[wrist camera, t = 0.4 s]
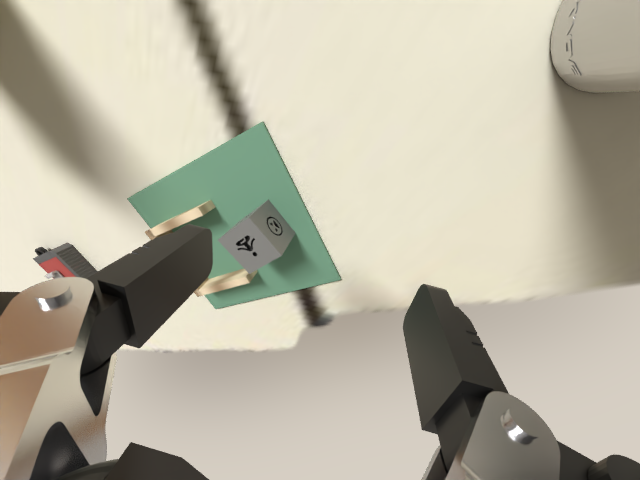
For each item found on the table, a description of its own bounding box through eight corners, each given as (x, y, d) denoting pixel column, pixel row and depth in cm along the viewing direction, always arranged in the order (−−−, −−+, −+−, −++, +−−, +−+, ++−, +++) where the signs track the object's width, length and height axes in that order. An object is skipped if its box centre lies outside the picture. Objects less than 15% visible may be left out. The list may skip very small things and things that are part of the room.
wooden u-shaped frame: (211, 199, 29) (197, 207, 27) (257, 271, 33) (249, 282, 31) (159, 223, 32) (144, 232, 30) (208, 285, 37) (197, 296, 34)
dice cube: (268, 199, 27) (248, 217, 23) (295, 232, 29) (281, 255, 25) (240, 220, 30) (217, 240, 25) (266, 250, 31) (249, 274, 27)
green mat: (263, 121, 24) (262, 121, 23) (341, 278, 31) (340, 279, 31) (129, 197, 32) (127, 198, 31) (216, 307, 39) (215, 309, 39)
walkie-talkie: (39, 247, 42) (122, 327, 49) (6, 262, 38) (101, 346, 46) (66, 234, 38) (149, 322, 46) (32, 248, 35) (129, 342, 42)
